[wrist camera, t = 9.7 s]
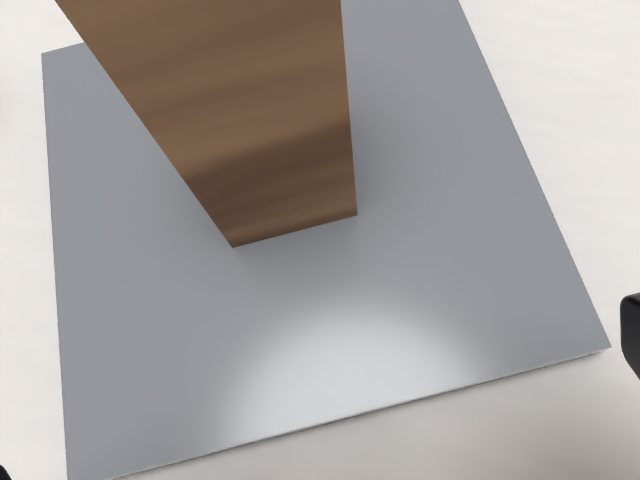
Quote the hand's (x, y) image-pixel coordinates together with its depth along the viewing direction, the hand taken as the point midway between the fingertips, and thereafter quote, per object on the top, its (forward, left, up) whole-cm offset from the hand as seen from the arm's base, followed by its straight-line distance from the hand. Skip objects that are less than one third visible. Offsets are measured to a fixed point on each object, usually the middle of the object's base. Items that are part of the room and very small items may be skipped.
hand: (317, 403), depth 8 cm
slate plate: (+8, 0, -9) cm, 12 cm away
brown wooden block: (+8, 0, -8) cm, 12 cm away
